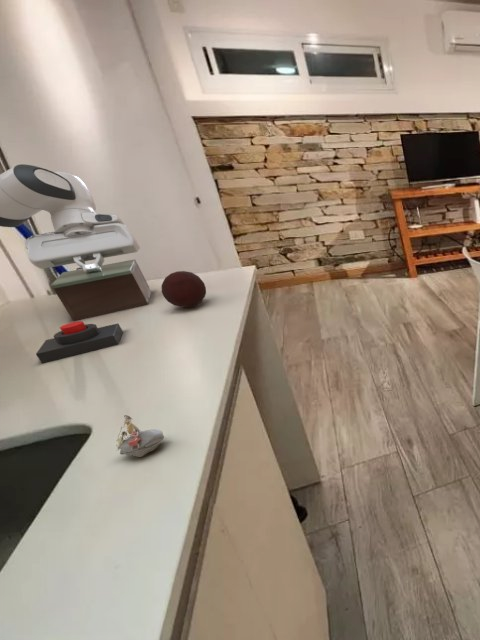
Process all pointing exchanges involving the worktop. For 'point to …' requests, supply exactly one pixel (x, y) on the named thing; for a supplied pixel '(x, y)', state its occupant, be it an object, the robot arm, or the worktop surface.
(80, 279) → the chest lid
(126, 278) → the chest
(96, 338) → the button box
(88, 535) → the worktop surface
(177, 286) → the dark brown oval ball
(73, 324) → the button
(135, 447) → the figurine
